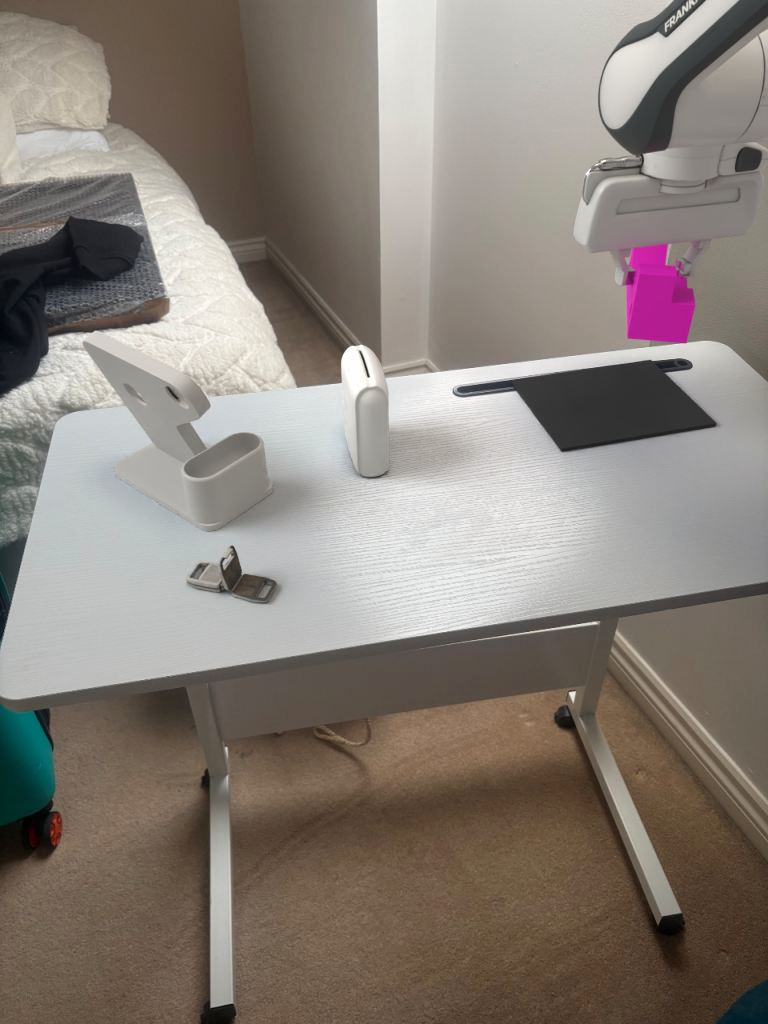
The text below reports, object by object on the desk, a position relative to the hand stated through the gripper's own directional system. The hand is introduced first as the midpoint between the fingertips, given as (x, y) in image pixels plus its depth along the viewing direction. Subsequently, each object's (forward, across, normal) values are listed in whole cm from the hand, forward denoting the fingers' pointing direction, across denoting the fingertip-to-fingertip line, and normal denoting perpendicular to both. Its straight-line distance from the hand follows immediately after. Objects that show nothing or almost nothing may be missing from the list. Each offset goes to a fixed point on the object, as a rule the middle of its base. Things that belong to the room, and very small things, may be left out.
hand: (653, 279), depth 93 cm
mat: (+16, -2, 0) cm, 16 cm away
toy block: (+4, +1, 0) cm, 4 cm away
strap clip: (+16, -52, -19) cm, 58 cm away
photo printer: (+16, -34, -2) cm, 38 cm away
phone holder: (+16, -54, -2) cm, 56 cm away
